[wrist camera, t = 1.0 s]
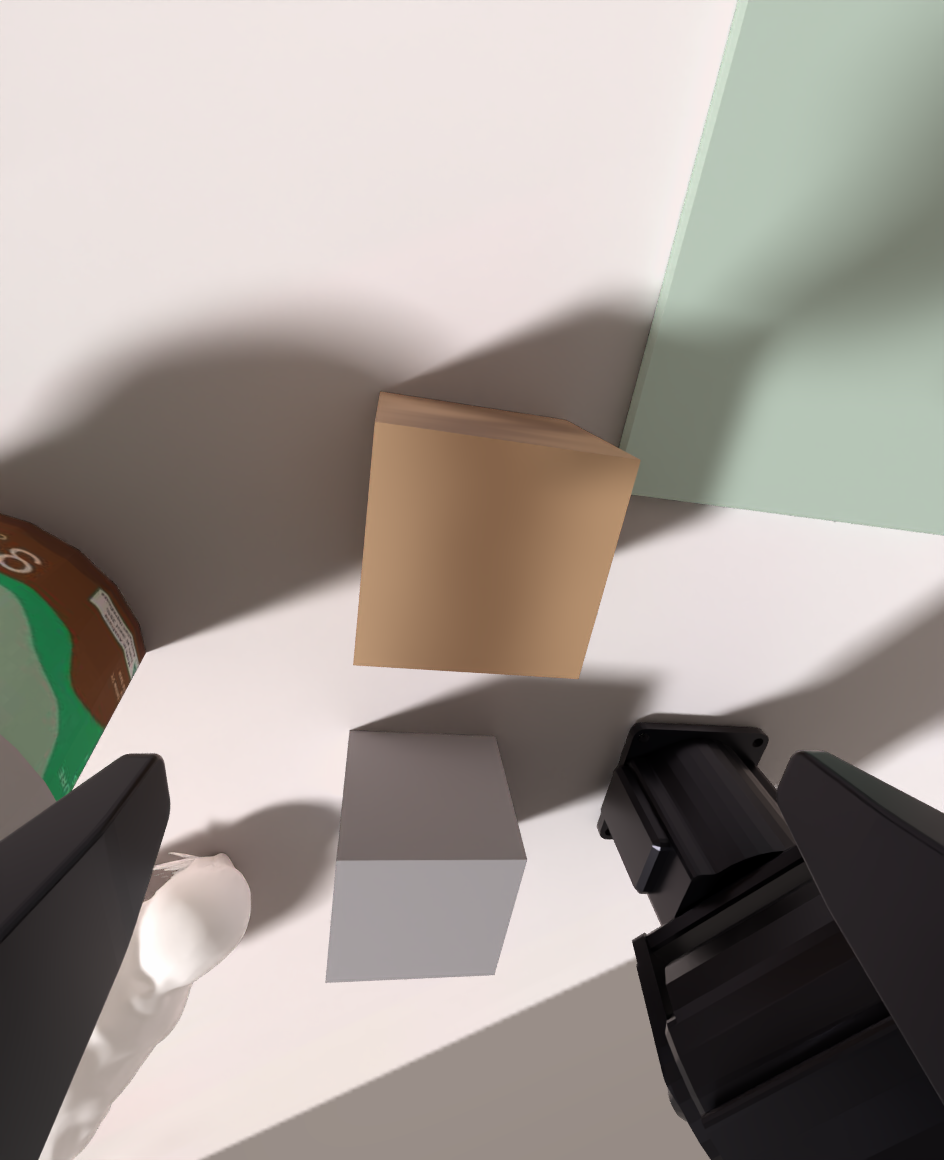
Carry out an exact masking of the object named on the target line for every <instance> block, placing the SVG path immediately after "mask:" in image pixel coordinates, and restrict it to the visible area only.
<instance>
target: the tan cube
mask: <svg viewBox="0 0 944 1160" xmlns="http://www.w3.org/2000/svg"><path fill="white" fill-rule="evenodd" d="M640 461H641V460H640V459H638V458H636V457H634V456H633V455H631V454H629V453H627V452H625V451H623V450H621V449H619V448H618V447H616V446H614V445H612V444H610V443H608V442H606V441H604V440H603V439H601V438H599V437H597V436H595V435H593V434H591V433H590V432H588V431H586V430H584V429H582V428H580V427H578V426H576V425H575V424H573V423H571V422H569V421H567V420H563V419H556V418H550V417H543V416H537V415H530V414H524V413H517V412H511V411H504V410H498V409H491V408H485V407H479V406H472V405H466V404H459V403H453V402H446V401H440V400H433V399H427V398H420V397H414V396H407V395H401V394H395V393H388V392H382V391H380V395H379V401H378V407H377V412H376V418H375V425H374V436H373V448H372V459H371V470H370V482H369V493H368V504H367V516H366V527H365V538H364V550H363V561H362V572H361V584H360V595H359V606H358V618H357V629H356V640H355V652H354V663H353V665H359V666H375V667H391V668H407V669H424V670H440V671H456V672H472V673H489V674H505V675H521V676H537V677H553V678H570V679H579V675H580V672H581V668H582V665H583V661H584V658H585V654H586V651H587V647H588V644H589V640H590V637H591V633H592V630H593V626H594V623H595V619H596V616H597V612H598V609H599V605H600V602H601V598H602V595H603V591H604V588H605V584H606V581H607V577H608V574H609V570H610V567H611V563H612V560H613V556H614V553H615V549H616V546H617V542H618V539H619V535H620V532H621V528H622V525H623V521H624V518H625V514H626V511H627V507H628V504H629V500H630V497H631V493H632V489H633V486H634V482H635V479H636V475H637V472H638V468H639V465H640Z"/></svg>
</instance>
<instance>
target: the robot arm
mask: <svg viewBox="0 0 944 1160" xmlns="http://www.w3.org/2000/svg"><path fill="white" fill-rule="evenodd" d="M644 733H645V734H644ZM641 734H644V735H642V736H640V735H641ZM768 740H769V739H768V736H767V735H766V734H765V733H764V732H763V731H762V730H761V729H759V728H749V727H728V726H706V725H685V724H664V723H638V724H636V725H634V726H633V727H632V728H631V729H630V731H629V734H628V737H627V740H626V743H625V745H624V748H623V751H622V754H621V757H620V760H619V763H618V766H617V767H616V769H615V770H614V773H613V776H612V778H611V781H610V784H609V787H608V790H607V793H606V796H605V799H604V802H603V805H602V808H601V815H600V818H599V821H598V824H597V829H598V831H599V834H600V836H601V837H602V838H603V839H613V840H614V842H615V845H616V847H617V849H618V852H619V854H620V856H621V858H622V861H623V863H624V865H625V868H626V870H627V872H628V875H629V877H630V879H631V882H632V884H633V886H634V888H635V889H636V890H637V891H638V893H640V894H647V895H648V897H649V900H650V902H651V904H652V906H653V908H654V911H655V913H656V915H657V917H658V920H659V922H660V924H661V926H660V927H659V928H657V929H655V930H654V931H652V932H650V933H649V934H646V933H643V934H641V935H640V936H638V937H637V938H635V939H633V940H632V943H633V947H634V951H635V955H636V959H637V971H638V975H639V979H640V982H641V987H642V991H643V995H644V999H645V1004H646V1008H647V1011H648V1016H649V1020H650V1024H651V1028H652V1032H653V1036H654V1041H655V1045H656V1048H657V1053H658V1057H659V1061H660V1065H661V1069H662V1073H663V1077H664V1080H665V1083H666V1085H667V1087H668V1095H669V1099H670V1102H671V1104H672V1106H673V1108H674V1110H675V1112H676V1113H677V1115H678V1116H679V1117H680V1118H682V1119H683V1120H685V1121H687V1122H688V1124H689V1125H690V1127H691V1129H692V1131H693V1132H694V1134H695V1136H696V1137H697V1139H698V1141H699V1143H700V1144H701V1146H702V1147H703V1149H704V1150H705V1152H706V1153H707V1155H708V1156H709V1157H710V1159H711V1160H944V813H942V812H940V811H938V810H937V809H935V808H933V807H931V806H929V805H927V804H925V803H923V802H921V801H919V800H917V799H916V798H914V797H912V796H910V795H908V794H906V793H904V792H902V791H900V790H898V789H897V788H895V787H893V786H891V785H889V784H887V783H885V782H883V781H881V780H879V779H878V778H876V777H874V776H872V775H870V774H868V773H866V772H864V771H862V770H860V769H859V768H857V767H855V766H853V765H851V764H849V763H847V762H845V761H843V760H841V759H840V758H838V757H836V756H834V755H832V754H830V753H828V752H825V751H821V750H800V751H797V752H795V753H794V754H793V755H792V756H791V758H790V760H789V763H788V765H787V767H786V769H785V772H784V774H783V776H782V779H781V781H780V783H779V786H778V788H777V790H776V789H775V787H774V786H773V785H772V784H771V783H770V781H769V780H768V779H767V778H766V777H765V775H764V774H763V773H762V772H761V771H760V769H759V768H758V767H757V765H758V763H759V761H760V758H761V756H762V754H763V752H764V750H765V748H766V746H767V744H768ZM169 814H170V796H169V790H168V783H167V777H166V770H165V764H164V760H163V758H162V757H161V756H160V755H158V754H155V753H150V754H126V755H123V756H121V757H120V758H118V759H117V760H115V761H114V762H112V763H111V764H110V765H108V766H107V767H105V768H104V769H102V770H101V771H99V772H98V773H97V774H95V775H94V776H92V777H91V778H89V779H88V780H87V781H85V782H84V783H82V784H81V785H79V786H78V787H77V788H75V789H74V790H72V791H71V792H69V793H68V794H66V795H65V796H64V797H62V798H61V799H59V800H58V801H56V802H55V803H54V804H52V805H51V806H49V807H48V808H46V809H45V810H44V811H42V812H41V813H39V814H38V815H36V816H35V817H34V818H32V819H31V820H29V821H28V822H26V823H25V824H23V825H22V826H21V827H19V828H18V829H16V830H15V831H13V832H12V833H11V834H9V835H8V836H6V837H5V838H3V839H2V840H1V841H0V1160H39V1157H40V1155H41V1153H42V1150H43V1148H44V1146H45V1143H46V1141H47V1139H48V1136H49V1134H50V1132H51V1129H52V1127H53V1125H54V1122H55V1120H56V1118H57V1115H58V1113H59V1110H60V1108H61V1106H62V1103H63V1101H64V1099H65V1096H66V1094H67V1092H68V1089H69V1087H70V1085H71V1082H72V1080H73V1078H74V1075H75V1073H76V1071H77V1068H78V1066H79V1063H80V1061H81V1059H82V1056H83V1054H84V1052H85V1049H86V1047H87V1045H88V1042H89V1040H90V1038H91V1035H92V1033H93V1031H94V1028H95V1026H96V1024H97V1021H98V1019H99V1016H100V1014H101V1012H102V1009H103V1007H104V1005H105V1002H106V1000H107V998H108V995H109V993H110V991H111V988H112V986H113V984H114V981H115V979H116V977H117V974H118V972H119V969H120V967H121V964H122V962H123V959H124V957H125V954H126V952H127V949H128V947H129V944H130V941H131V938H132V935H133V932H134V929H135V926H136V923H137V919H138V916H139V913H140V910H141V907H142V903H143V900H144V897H145V894H146V890H147V887H148V884H149V881H150V878H151V874H152V871H153V868H154V865H155V861H156V858H157V855H158V852H159V849H160V845H161V842H162V839H163V836H164V832H165V829H166V826H167V823H168V819H169Z"/></svg>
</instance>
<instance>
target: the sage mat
mask: <svg viewBox="0 0 944 1160" xmlns="http://www.w3.org/2000/svg"><path fill="white" fill-rule="evenodd" d="M619 449H621V450H623V451H625V452H627V453H629V454H631V455H633V456H634V457H636V458H638V459H640V460H641V461H640V465H639V468H638V472H637V475H636V479H635V482H634V486H633V489H632V493H631V495H638V496H645V497H653V498H661V499H668V500H676V501H684V502H691V503H699V504H706V505H714V506H722V507H729V508H737V509H745V510H752V511H760V512H767V513H775V514H783V515H790V516H798V517H806V518H813V519H821V520H829V521H836V522H844V523H851V524H859V525H867V526H874V527H882V528H890V529H897V530H905V531H913V532H920V533H928V534H935V535H943V536H944V0H738V3H737V6H736V10H735V14H734V18H733V21H732V25H731V29H730V33H729V36H728V40H727V44H726V48H725V51H724V55H723V59H722V63H721V66H720V70H719V74H718V78H717V81H716V85H715V89H714V93H713V96H712V100H711V104H710V108H709V111H708V115H707V119H706V123H705V126H704V130H703V134H702V138H701V141H700V145H699V149H698V153H697V156H696V160H695V164H694V168H693V171H692V175H691V179H690V183H689V186H688V190H687V194H686V198H685V201H684V205H683V209H682V213H681V216H680V220H679V224H678V228H677V231H676V235H675V239H674V243H673V246H672V250H671V254H670V258H669V261H668V265H667V269H666V273H665V276H664V280H663V284H662V288H661V291H660V295H659V299H658V303H657V306H656V310H655V314H654V318H653V321H652V325H651V329H650V333H649V336H648V340H647V344H646V348H645V351H644V355H643V359H642V363H641V366H640V370H639V374H638V378H637V381H636V385H635V389H634V393H633V396H632V400H631V404H630V408H629V411H628V415H627V419H626V423H625V426H624V430H623V434H622V438H621V441H620V445H619Z"/></svg>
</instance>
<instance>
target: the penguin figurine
mask: <svg viewBox="0 0 944 1160" xmlns="http://www.w3.org/2000/svg"><path fill="white" fill-rule="evenodd" d="M171 853H172V854H174V855H177V856H181V857H185V858H187V859H182V860H177V861H173V862H168V863H164V864H159V865H155V866H154V867H155V868H153V870H158V869H164V868H168V869H165V870H164V871H167V870H172V871H173V870H178V871H177V872H174V873H175V874H174V873H172V874H174V876H172V877H171V879H169V881H168V882H166V883H165V884H164V885H163V886H162V887H161V888H160V889H159V890H157V891H156V892H155V895H154V896H153V897H152V898H151V899H149V900H147V901H145V902H143V903H142V907H141V910H140V913H139V916H138V919H137V923H136V926H135V929H134V932H133V935H132V938H131V941H130V944H129V947H128V949H127V952H126V954H125V957H124V959H123V962H122V964H121V967H120V969H119V972H118V974H117V977H116V979H115V981H114V984H113V986H112V988H111V991H110V993H109V995H108V998H107V1000H106V1002H105V1005H104V1007H103V1009H102V1012H101V1014H100V1016H99V1019H98V1021H97V1024H96V1026H95V1028H94V1031H93V1033H92V1035H91V1038H90V1040H89V1042H88V1045H87V1047H86V1049H85V1052H84V1054H83V1056H82V1059H81V1061H80V1063H79V1066H78V1068H77V1071H76V1073H75V1075H74V1078H73V1080H72V1082H71V1085H70V1087H69V1089H68V1092H67V1094H66V1096H65V1099H64V1101H63V1103H62V1106H61V1108H60V1110H59V1113H58V1115H57V1118H56V1120H55V1122H54V1125H53V1127H52V1129H51V1132H50V1134H49V1136H48V1139H47V1141H46V1143H45V1146H44V1148H43V1150H42V1153H41V1155H40V1157H39V1160H72V1159H74V1158H75V1157H76V1156H77V1155H78V1154H80V1153H81V1151H82V1150H83V1149H84V1148H85V1147H86V1146H87V1145H88V1143H89V1142H90V1140H91V1139H92V1137H93V1136H94V1134H95V1133H96V1131H97V1129H98V1127H99V1126H100V1124H101V1122H102V1121H103V1119H104V1118H105V1116H106V1115H107V1113H108V1112H109V1110H110V1107H111V1104H112V1102H113V1101H114V1100H115V1099H116V1098H117V1097H118V1096H119V1095H120V1094H121V1093H122V1091H123V1090H124V1089H125V1088H126V1087H127V1085H128V1084H129V1083H130V1081H131V1080H132V1079H133V1077H134V1076H135V1074H136V1073H137V1071H138V1070H139V1068H140V1067H141V1065H142V1064H143V1063H144V1061H145V1060H146V1059H147V1057H148V1056H149V1055H150V1053H151V1052H152V1050H153V1049H154V1047H155V1046H156V1045H157V1044H158V1043H159V1042H161V1041H162V1040H163V1039H165V1038H166V1037H167V1036H168V1035H169V1034H170V1032H171V1031H172V1030H173V1029H174V1027H175V1026H176V1024H177V1023H178V1021H179V1019H180V1017H181V1015H182V1013H183V1010H184V1008H185V1005H186V1002H187V999H188V996H189V992H190V989H191V987H192V984H193V982H195V981H196V980H198V979H199V978H200V977H202V976H203V975H205V974H206V973H207V972H209V971H210V970H211V969H213V968H214V967H215V966H216V965H218V964H219V963H220V962H221V961H222V960H223V959H225V958H226V957H227V956H228V955H229V954H230V953H231V952H232V951H233V950H234V949H235V947H236V946H237V945H238V944H239V942H240V941H241V939H242V938H243V936H244V934H245V932H246V929H247V926H248V923H249V919H250V914H251V891H250V888H249V885H248V883H247V882H246V880H245V878H244V876H243V875H242V873H241V872H240V871H238V870H237V869H235V867H234V865H233V863H232V862H231V860H230V858H229V857H228V856H227V855H226V854H224V853H220V854H217V855H215V856H209V857H197V856H194V855H189V854H183V853H174V852H170V854H171ZM169 867H171V868H169ZM179 869H180V870H179ZM163 874H164V873H163ZM155 876H157V875H155ZM168 876H169V875H168ZM165 877H166V876H165ZM162 878H163V877H162Z"/></svg>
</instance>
